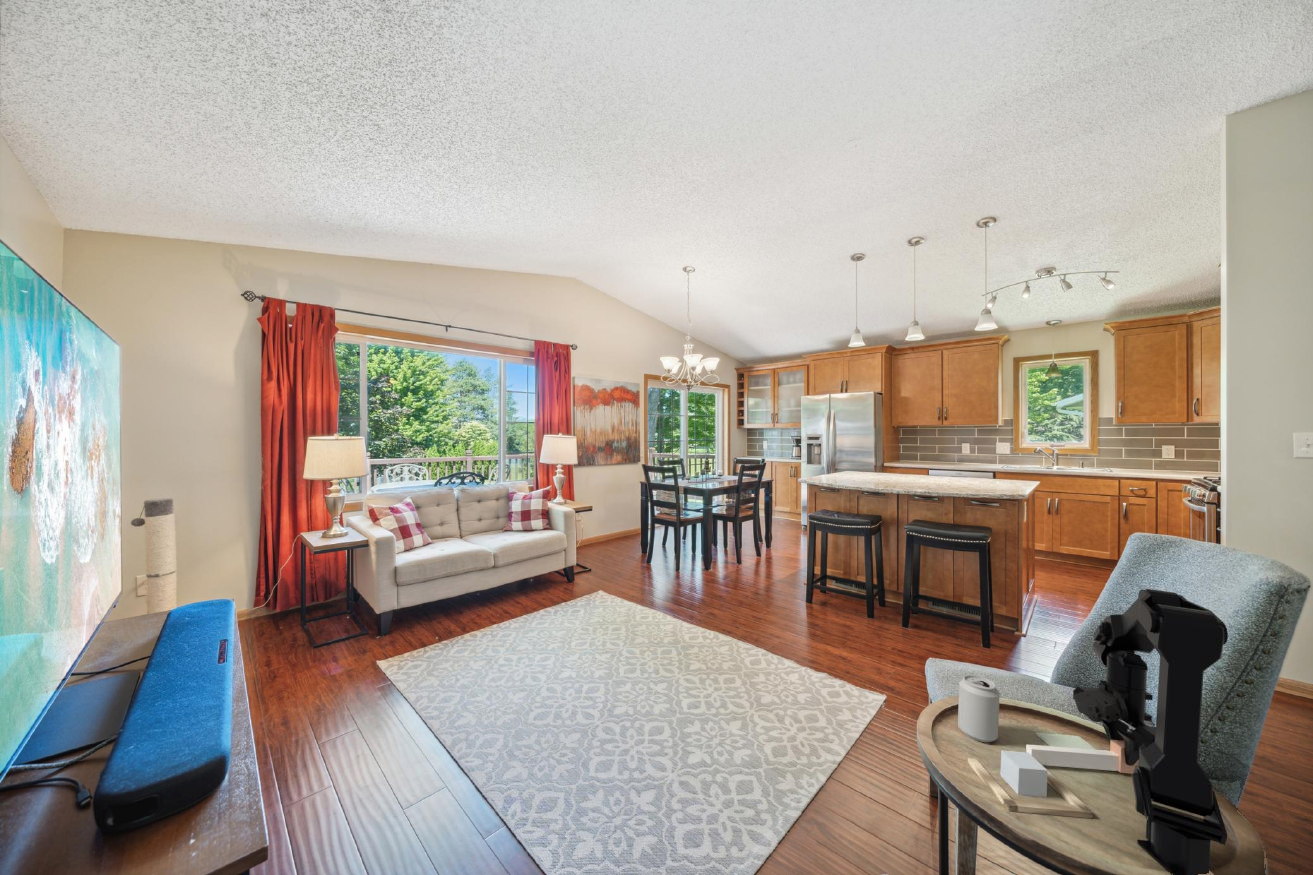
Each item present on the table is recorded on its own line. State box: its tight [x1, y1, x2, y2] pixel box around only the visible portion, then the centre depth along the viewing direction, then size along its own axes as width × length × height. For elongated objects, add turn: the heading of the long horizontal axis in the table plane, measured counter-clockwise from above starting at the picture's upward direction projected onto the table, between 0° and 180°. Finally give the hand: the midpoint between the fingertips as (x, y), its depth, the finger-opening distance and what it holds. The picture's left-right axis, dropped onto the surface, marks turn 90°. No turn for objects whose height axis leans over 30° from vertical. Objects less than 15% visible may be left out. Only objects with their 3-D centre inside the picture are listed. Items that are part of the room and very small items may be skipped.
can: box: [957, 674, 1000, 743], centre depth 106 cm, size 8×8×12 cm
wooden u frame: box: [967, 757, 1094, 819], centre depth 89 cm, size 12×14×1 cm
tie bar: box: [1025, 740, 1138, 775], centre depth 96 cm, size 2×20×5 cm, turn 86°
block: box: [1000, 749, 1048, 798], centre depth 90 cm, size 5×5×5 cm
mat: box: [1035, 732, 1097, 750], centre depth 102 cm, size 9×9×1 cm
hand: (1123, 760), depth 95 cm, fingers closed on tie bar, 2 cm apart
